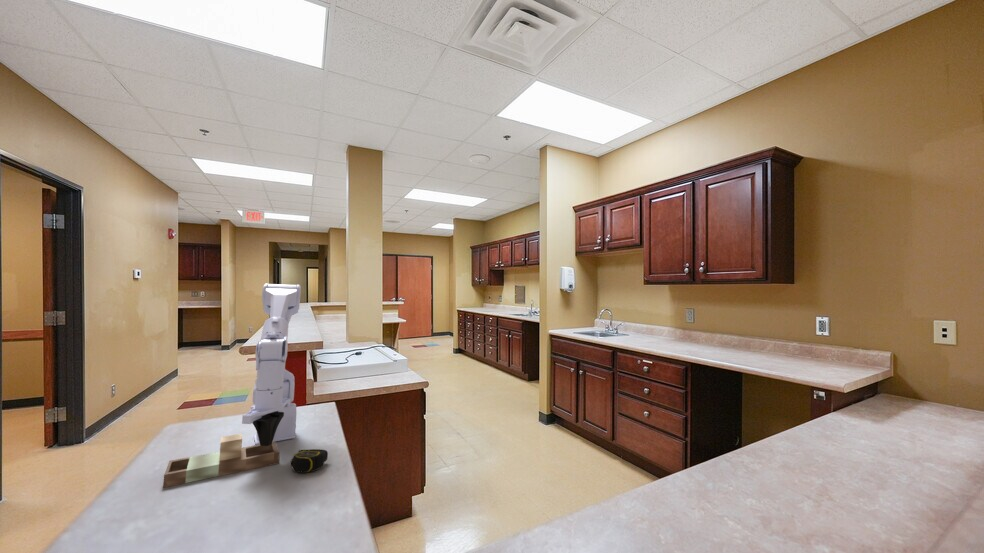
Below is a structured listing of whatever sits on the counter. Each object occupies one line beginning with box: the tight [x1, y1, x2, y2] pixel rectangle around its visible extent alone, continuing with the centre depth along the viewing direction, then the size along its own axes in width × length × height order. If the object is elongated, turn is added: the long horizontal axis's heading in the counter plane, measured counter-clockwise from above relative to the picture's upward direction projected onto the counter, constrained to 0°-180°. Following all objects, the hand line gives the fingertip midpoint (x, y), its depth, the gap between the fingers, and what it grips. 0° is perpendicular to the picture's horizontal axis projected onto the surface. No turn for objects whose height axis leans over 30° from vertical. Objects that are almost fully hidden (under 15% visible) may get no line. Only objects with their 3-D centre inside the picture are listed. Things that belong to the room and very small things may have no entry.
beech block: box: [219, 433, 243, 461], centre depth 84 cm, size 4×4×4 cm
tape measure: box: [290, 448, 329, 473], centre depth 83 cm, size 7×7×4 cm
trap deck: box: [162, 441, 280, 489], centre depth 83 cm, size 20×8×2 cm, turn 126°
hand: (265, 444), depth 88 cm, fingers closed
